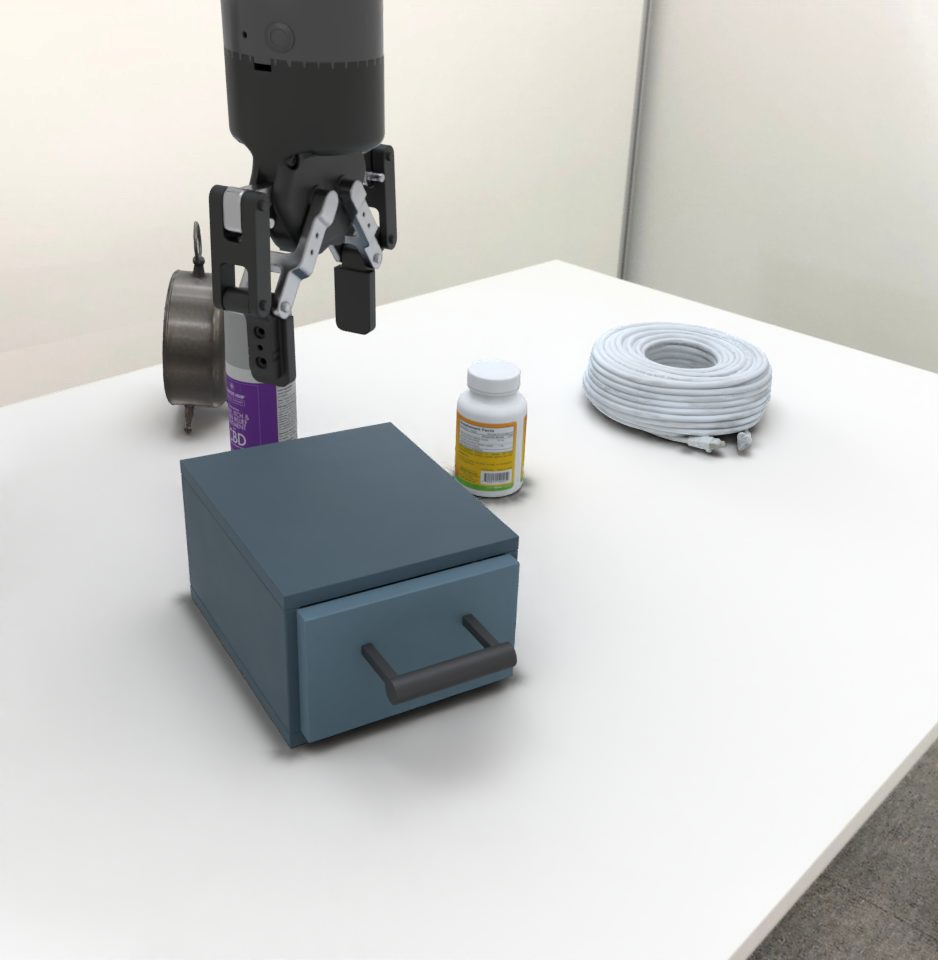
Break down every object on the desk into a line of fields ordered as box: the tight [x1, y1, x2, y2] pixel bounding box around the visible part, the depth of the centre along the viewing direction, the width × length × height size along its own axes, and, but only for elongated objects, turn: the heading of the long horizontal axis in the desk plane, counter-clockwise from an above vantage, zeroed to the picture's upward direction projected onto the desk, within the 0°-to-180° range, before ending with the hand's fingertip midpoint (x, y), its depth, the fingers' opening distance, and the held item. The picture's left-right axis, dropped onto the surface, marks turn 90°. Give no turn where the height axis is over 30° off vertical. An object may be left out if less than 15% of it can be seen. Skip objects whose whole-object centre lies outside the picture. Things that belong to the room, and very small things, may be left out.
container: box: [224, 309, 299, 451], centre depth 85 cm, size 5×5×15 cm
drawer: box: [296, 554, 521, 744], centre depth 69 cm, size 20×13×8 cm, turn 36°
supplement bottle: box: [454, 359, 528, 498], centre depth 92 cm, size 5×5×10 cm
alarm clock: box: [161, 220, 228, 434], centre depth 97 cm, size 11×5×16 cm, turn 10°
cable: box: [581, 321, 773, 454], centre depth 110 cm, size 18×18×6 cm
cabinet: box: [179, 421, 520, 749], centre depth 72 cm, size 17×14×10 cm
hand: (317, 355), depth 65 cm, fingers open, 8 cm apart
